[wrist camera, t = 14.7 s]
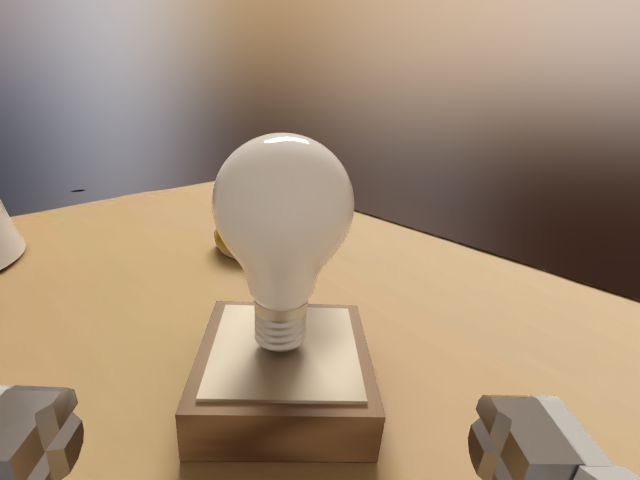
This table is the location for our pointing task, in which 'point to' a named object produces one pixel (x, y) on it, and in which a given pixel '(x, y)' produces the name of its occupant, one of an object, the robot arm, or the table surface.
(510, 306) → the table surface
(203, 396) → the picture frame
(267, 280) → the lightbulb
